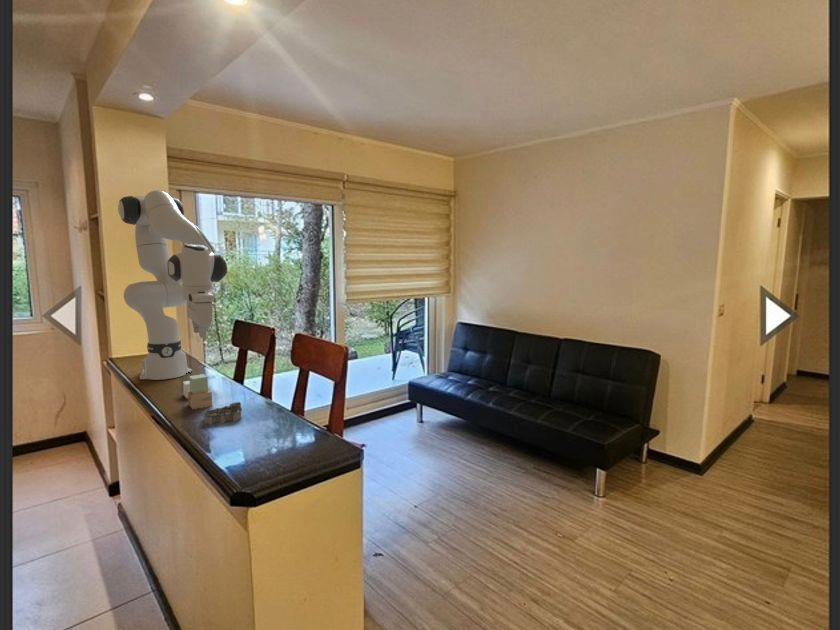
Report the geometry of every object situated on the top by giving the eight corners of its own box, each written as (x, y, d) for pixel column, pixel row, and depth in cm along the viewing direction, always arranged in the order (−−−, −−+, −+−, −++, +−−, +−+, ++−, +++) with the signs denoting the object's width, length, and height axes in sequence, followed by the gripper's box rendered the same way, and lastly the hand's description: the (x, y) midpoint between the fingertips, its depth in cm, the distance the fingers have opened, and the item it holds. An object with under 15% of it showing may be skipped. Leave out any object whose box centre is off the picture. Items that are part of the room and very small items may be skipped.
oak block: (188, 405, 149) (187, 390, 148) (207, 401, 152) (206, 387, 152) (192, 410, 144) (191, 395, 143) (212, 406, 148) (211, 391, 147)
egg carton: (242, 413, 142) (242, 401, 141) (241, 422, 135) (240, 409, 134) (205, 417, 139) (205, 404, 138) (202, 426, 132) (201, 412, 131)
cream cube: (183, 395, 159) (182, 381, 158) (197, 392, 162) (196, 379, 161) (186, 398, 155) (185, 384, 155) (200, 396, 158) (199, 382, 157)
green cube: (190, 390, 148) (189, 376, 147) (204, 388, 151) (203, 374, 150) (193, 394, 145) (192, 379, 144) (208, 391, 147) (207, 376, 147)
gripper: (181, 291, 153) (183, 330, 156) (193, 297, 137) (195, 341, 140) (201, 290, 157) (203, 328, 159) (215, 297, 141) (217, 339, 143)
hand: (199, 335), depth 149 cm, fingers open, 8 cm apart
